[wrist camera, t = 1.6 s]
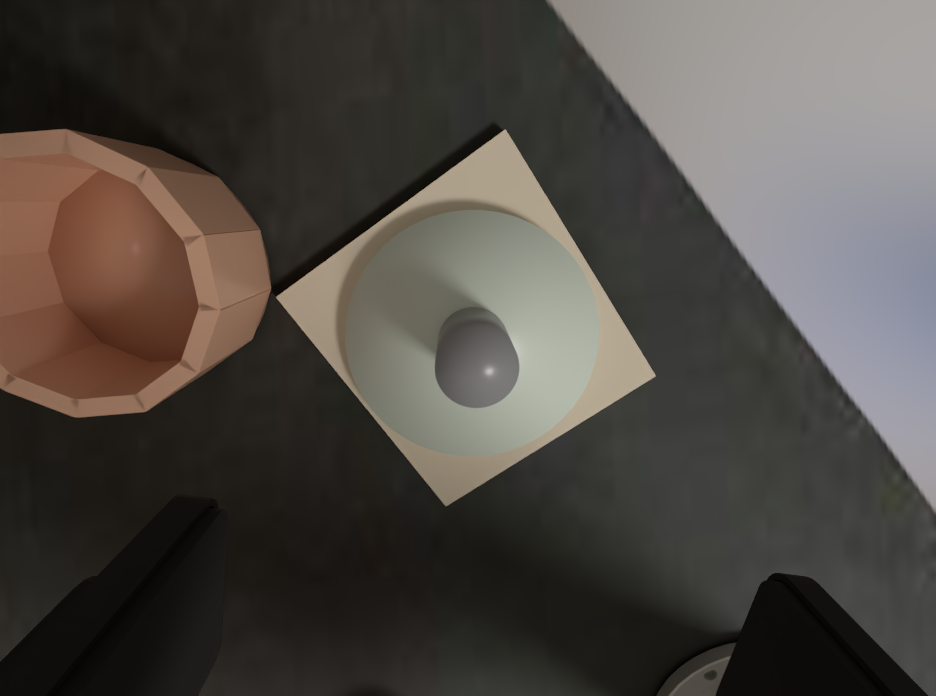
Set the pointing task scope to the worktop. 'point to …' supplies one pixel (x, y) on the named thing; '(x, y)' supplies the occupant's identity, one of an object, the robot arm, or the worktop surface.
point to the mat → (461, 188)
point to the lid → (472, 333)
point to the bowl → (119, 272)
